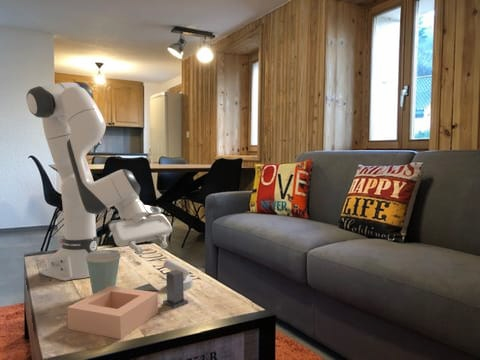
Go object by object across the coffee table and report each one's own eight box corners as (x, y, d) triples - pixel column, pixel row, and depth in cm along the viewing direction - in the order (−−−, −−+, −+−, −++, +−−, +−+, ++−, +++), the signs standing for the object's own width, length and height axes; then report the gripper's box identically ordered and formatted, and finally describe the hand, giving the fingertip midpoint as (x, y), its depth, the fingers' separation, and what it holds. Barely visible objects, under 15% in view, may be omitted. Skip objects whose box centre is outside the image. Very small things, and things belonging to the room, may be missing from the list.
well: (68, 328, 106) (67, 307, 105) (110, 304, 122) (109, 285, 121) (121, 339, 100) (120, 316, 99) (157, 312, 116) (157, 292, 115)
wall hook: (168, 255, 142) (195, 256, 140) (169, 281, 143) (195, 282, 141) (159, 262, 134) (187, 263, 132) (159, 289, 134) (187, 291, 132)
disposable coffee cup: (86, 292, 132) (84, 248, 130) (120, 288, 136) (118, 245, 135) (88, 304, 122) (86, 257, 121) (124, 298, 126) (122, 252, 125)
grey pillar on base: (163, 304, 122) (162, 272, 121) (176, 299, 126) (176, 268, 125) (173, 308, 118) (173, 276, 117) (187, 303, 122) (187, 271, 121)
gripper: (109, 215, 124) (127, 251, 119) (163, 207, 139) (181, 238, 133) (103, 227, 128) (120, 263, 122) (156, 218, 143) (174, 249, 137)
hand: (153, 250), depth 128 cm, fingers open, 8 cm apart
